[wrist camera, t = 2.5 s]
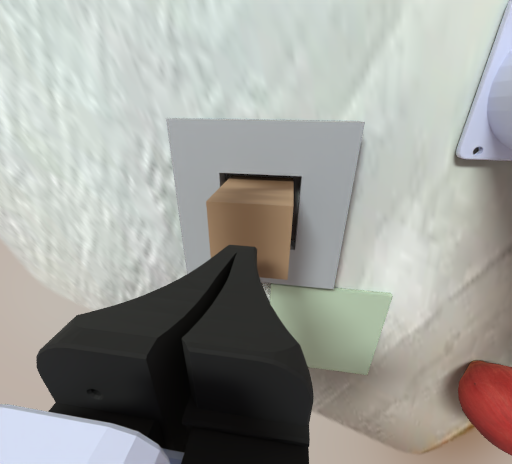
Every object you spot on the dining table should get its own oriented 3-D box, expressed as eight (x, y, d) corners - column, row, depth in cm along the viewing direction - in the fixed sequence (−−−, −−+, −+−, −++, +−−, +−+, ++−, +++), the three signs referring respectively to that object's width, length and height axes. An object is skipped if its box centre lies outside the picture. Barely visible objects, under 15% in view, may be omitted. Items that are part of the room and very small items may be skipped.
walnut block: (293, 177, 18) (293, 206, 12) (289, 234, 20) (287, 279, 14) (231, 175, 18) (205, 201, 13) (233, 230, 20) (211, 273, 15)
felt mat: (390, 293, 21) (392, 296, 20) (366, 371, 25) (367, 375, 25) (271, 281, 22) (270, 284, 21) (267, 358, 26) (267, 361, 26)
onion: (525, 369, 22) (635, 492, 15) (458, 390, 24) (526, 506, 17) (495, 331, 21) (599, 445, 14) (427, 357, 23) (487, 467, 16)
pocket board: (358, 121, 15) (364, 122, 14) (331, 277, 21) (333, 289, 19) (176, 118, 17) (166, 118, 16) (193, 265, 22) (187, 275, 21)
